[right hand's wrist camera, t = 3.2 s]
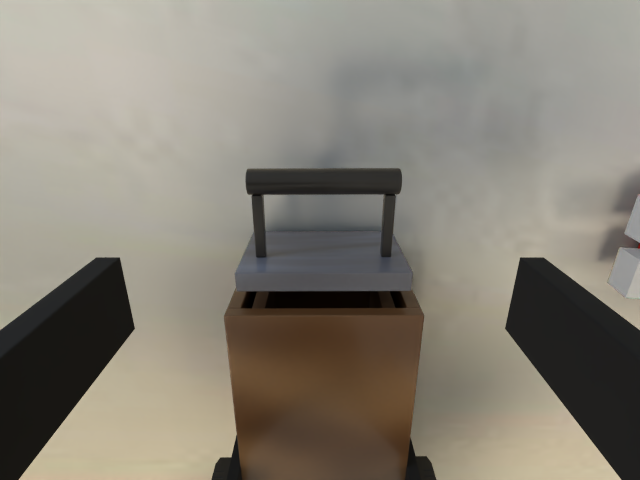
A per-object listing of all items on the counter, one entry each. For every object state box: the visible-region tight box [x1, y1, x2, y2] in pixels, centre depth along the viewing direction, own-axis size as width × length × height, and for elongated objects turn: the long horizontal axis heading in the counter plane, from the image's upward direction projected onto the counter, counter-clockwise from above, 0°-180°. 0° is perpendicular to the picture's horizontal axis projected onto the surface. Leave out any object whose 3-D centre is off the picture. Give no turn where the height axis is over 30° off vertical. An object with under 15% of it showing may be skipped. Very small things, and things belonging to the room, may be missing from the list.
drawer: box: [235, 168, 413, 309], centre depth 26 cm, size 22×10×7 cm, turn 0°
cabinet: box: [224, 289, 424, 480], centre depth 28 cm, size 18×11×8 cm, turn 0°
